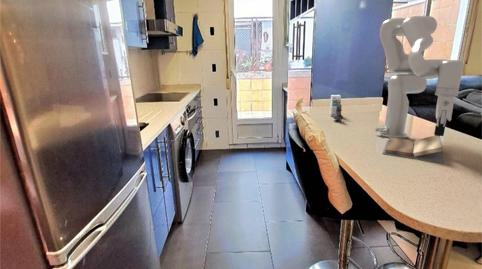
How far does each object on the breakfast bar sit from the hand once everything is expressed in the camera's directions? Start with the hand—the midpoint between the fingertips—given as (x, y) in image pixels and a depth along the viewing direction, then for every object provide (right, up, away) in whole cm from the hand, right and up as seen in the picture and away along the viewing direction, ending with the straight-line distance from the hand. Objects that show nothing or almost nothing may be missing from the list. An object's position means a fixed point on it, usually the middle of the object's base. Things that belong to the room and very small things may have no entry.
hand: (438, 135), depth 118 cm
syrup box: (-19, +13, +76) cm, 80 cm away
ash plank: (-2, -5, +3) cm, 6 cm away
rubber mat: (-7, -7, +7) cm, 12 cm away
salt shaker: (-21, +8, +61) cm, 65 cm away
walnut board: (-11, -6, +9) cm, 16 cm away
